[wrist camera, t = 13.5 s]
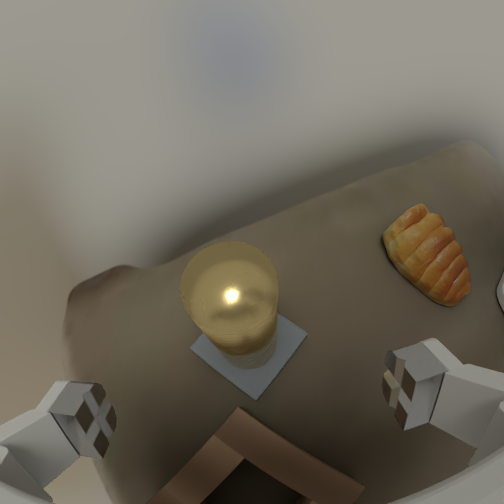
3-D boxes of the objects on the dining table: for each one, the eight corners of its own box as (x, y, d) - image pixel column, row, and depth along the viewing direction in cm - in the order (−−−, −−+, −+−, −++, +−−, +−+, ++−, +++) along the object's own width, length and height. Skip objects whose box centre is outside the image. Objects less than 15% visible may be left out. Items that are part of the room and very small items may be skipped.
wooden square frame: (242, 407, 19) (237, 406, 17) (353, 479, 16) (366, 487, 13) (158, 497, 16) (142, 506, 13) (266, 568, 12) (265, 585, 9)
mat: (243, 292, 24) (241, 287, 23) (306, 336, 22) (307, 333, 21) (193, 351, 22) (189, 348, 21) (256, 401, 19) (256, 400, 19)
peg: (243, 304, 22) (223, 225, 14) (288, 336, 21) (298, 273, 12) (208, 346, 21) (160, 291, 12) (252, 380, 19) (234, 352, 11)
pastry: (474, 284, 23) (495, 265, 19) (434, 326, 21) (457, 310, 18) (415, 214, 27) (428, 189, 24) (369, 244, 26) (381, 219, 22)
